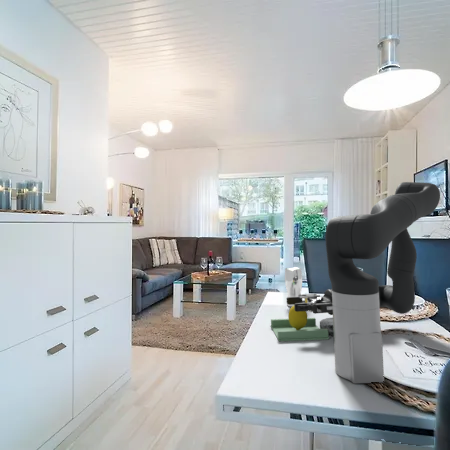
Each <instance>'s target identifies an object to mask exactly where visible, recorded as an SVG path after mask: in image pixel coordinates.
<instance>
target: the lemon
mask: <svg viewBox="0 0 450 450" xmlns="http://www.w3.org/2000/svg"><path fill="white" fill-rule="evenodd" d="M307 318H308V313H307V311H299V312H296V311H295V309H294V306H292V307H290V308H289V312H288V318H287V319H289V322H290V324H291V326H292V327H293V328H295V329H296V330H300V329H302V328H304V327H305V325H306V324H307Z"/></svg>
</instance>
